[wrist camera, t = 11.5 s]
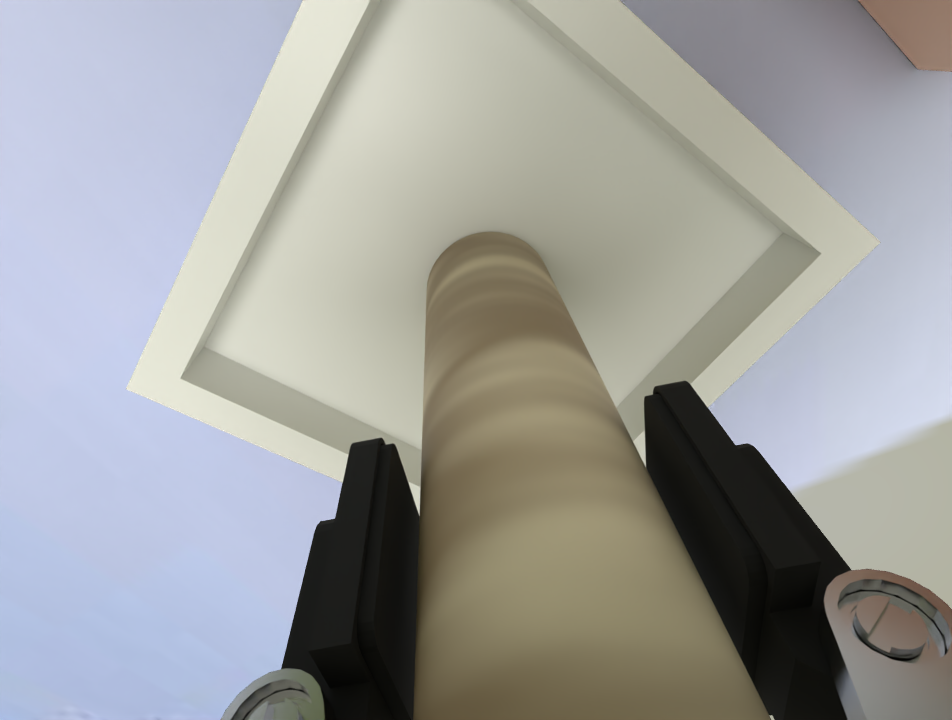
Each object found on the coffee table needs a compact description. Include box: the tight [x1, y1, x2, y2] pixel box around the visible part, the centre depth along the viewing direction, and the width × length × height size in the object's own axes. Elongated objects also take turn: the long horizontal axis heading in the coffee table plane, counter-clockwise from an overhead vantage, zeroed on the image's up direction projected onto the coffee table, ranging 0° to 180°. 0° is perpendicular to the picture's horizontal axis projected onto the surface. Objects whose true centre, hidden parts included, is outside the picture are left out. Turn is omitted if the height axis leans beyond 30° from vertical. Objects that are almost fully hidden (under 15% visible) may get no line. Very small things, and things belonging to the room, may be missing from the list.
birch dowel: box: [413, 232, 771, 720], centre depth 12 cm, size 4×4×14 cm
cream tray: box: [126, 0, 880, 516], centre depth 17 cm, size 16×16×3 cm
